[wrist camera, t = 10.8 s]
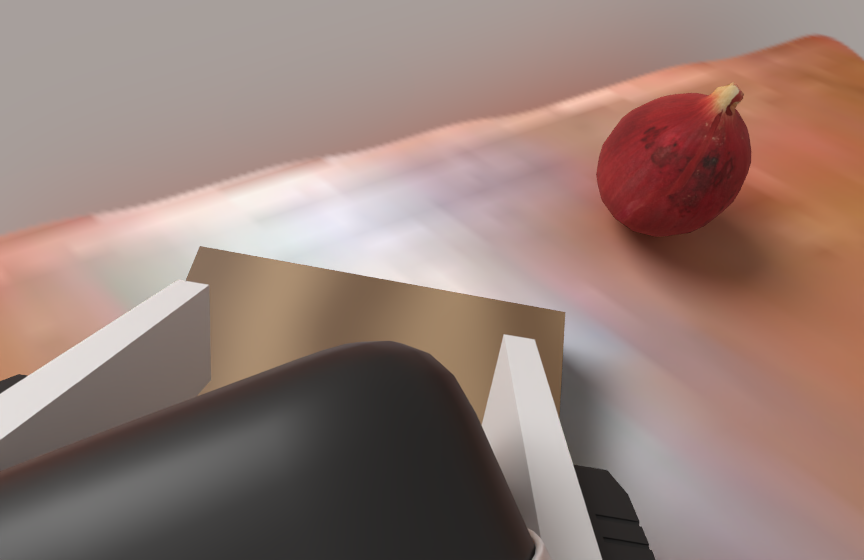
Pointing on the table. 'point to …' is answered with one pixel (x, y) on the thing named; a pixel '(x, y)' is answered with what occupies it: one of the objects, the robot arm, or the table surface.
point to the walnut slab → (359, 321)
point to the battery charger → (280, 473)
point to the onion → (675, 162)
